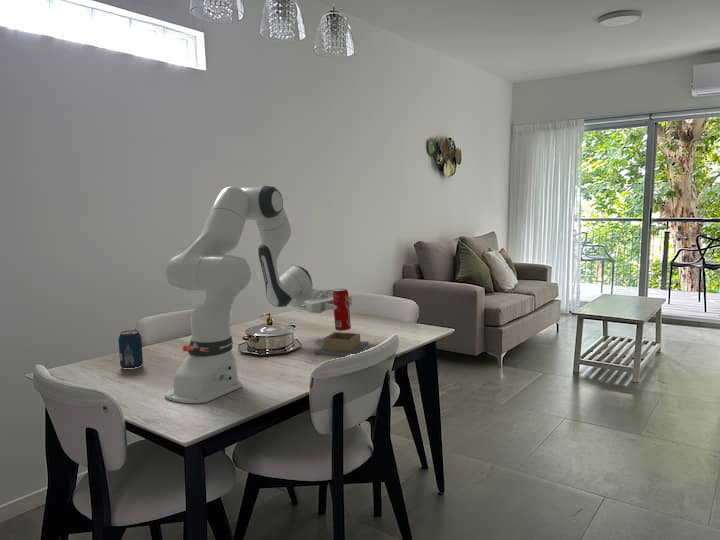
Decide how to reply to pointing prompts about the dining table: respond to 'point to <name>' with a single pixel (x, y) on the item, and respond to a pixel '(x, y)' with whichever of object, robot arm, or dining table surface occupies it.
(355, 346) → the can stand
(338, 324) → the beverage can
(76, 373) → the dining table surface
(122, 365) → the soda can
